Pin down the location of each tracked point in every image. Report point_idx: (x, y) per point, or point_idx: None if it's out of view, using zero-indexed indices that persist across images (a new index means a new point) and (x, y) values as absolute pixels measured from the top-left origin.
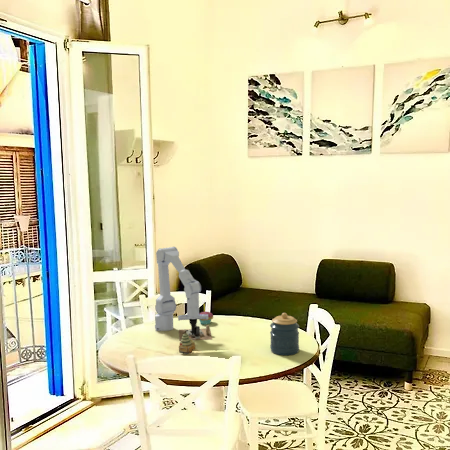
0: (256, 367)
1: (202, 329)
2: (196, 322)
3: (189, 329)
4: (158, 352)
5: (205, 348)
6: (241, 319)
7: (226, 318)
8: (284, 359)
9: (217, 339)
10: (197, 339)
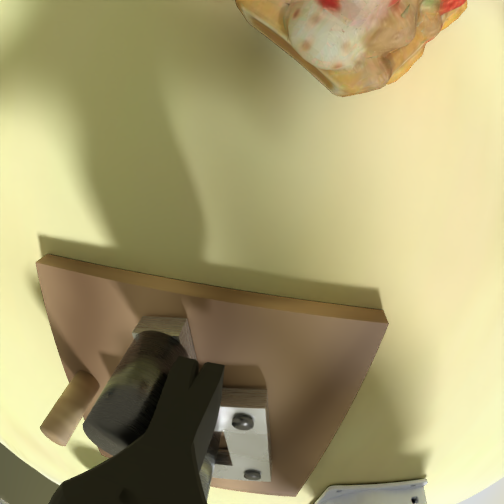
0: None
1: None
2: (59, 490)
3: (227, 487)
4: None
5: (117, 47)
6: (22, 452)
7: None
8: None
9: (24, 286)
10: (170, 310)
